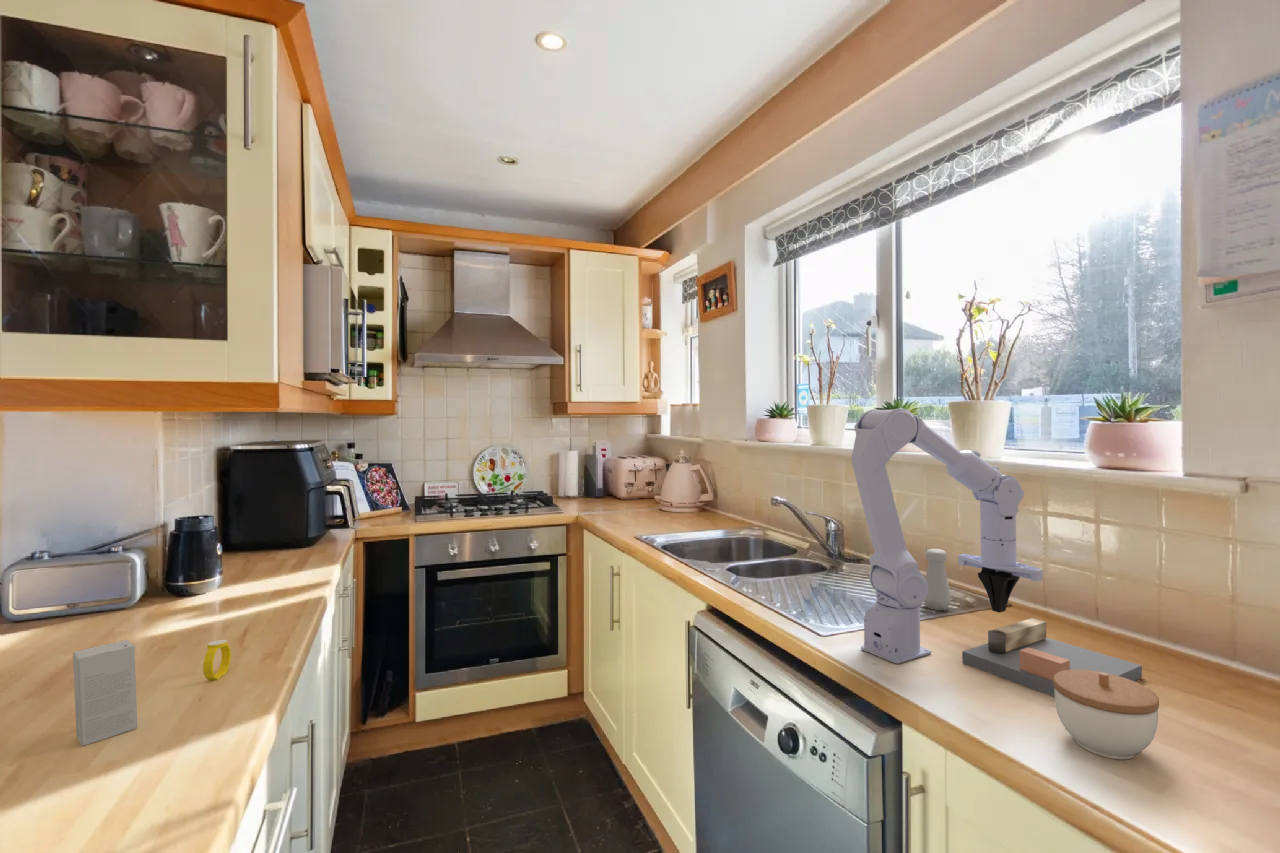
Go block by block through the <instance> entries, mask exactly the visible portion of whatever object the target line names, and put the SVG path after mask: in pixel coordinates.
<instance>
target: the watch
mask: <svg viewBox="0 0 1280 853" xmlns="http://www.w3.org/2000/svg"><path fill="white" fill-rule="evenodd" d="M206 645H207V651H206V653H205V654H204V655H205V656H204V659H203V665H202V671H203V675H204V677H205V679H206V680H208V681H217V680H218V679H220V678H221V677H222V676H224V675H225V674H227V673H228V670H229V667H230V664H231V658H232V652H231V647H230V644H229V643H228V640H227V639H218V640H214V641H210V642H208V643H207V644H206ZM218 649H219V650H220V651H221V654H220V655H221V660H220V666H219V668H218V671H216V672H214V662H215V661H214V660H215V658H216V657H215V656H216V654H217V651H218Z"/></svg>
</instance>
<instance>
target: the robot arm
mask: <svg viewBox="0 0 1280 853" xmlns="http://www.w3.org/2000/svg"><path fill="white" fill-rule="evenodd" d="M853 426H854V431H855V438H854V443H853V448H852V453H851V465H852V468H853V469H852V470H853V472H854V477H855V480H856V481H855V482H856V485H857V487H858V492H859V496H860V500H861V504H862V508H863V512H864V516H865V520H866V523H867V527H868V530H869V531H868V532H869V535H870V538H871V539H870V540H871V543H872V547H873V550H874V552H873V553H872V555H871V556H870V557H869V559H868V560H869V564H870V570H869V575H868V576H869V577H868V578H869V583H870V586H871V588H872V589H873V590H875V597H876V601H875V604H874V605H873V606H871V607H869V608H868V609H867V610H866V611H865V613H864V617H863V640H864V641H863V644H864V645H861V646H860V649H861V650H862V651H864V652H867V653H870V654H871V655H874V656H876V657H879V658H882V659H883V660H886V661H888V662H891V663H893V664H901V663H905V662H908V661H910V660H914V659H917V658H922V657H923V656H927V655H930V654H932V650H931V649H929V648H925V647H923V646H921V614H920V613H921V612H920V611H921V608H922V604H923V603H924V600H925V599H926V597H927V595H928V583H927V580H926V579H925V577H926V576H924V575H923V574H922V572H921V571H920V569H919V565H918V562H917V561H916V560H915V558H914V557H913V555H912V554H911V553H910V552H909V550H908V549H907V546H906V543H905V538H904V533H903V530H902V526H901V522H900V519H899V514H898V510H897V507H896V502H895V498H894V495H893V494H894V493H893V490H892V485H891V483H890V479H889V475H888V470H887V464H888V463H889V461H890V459H892V457H893V456H894V455H895V454H896V453H898V452H900V450H901V449H903V448H904V447H905V446H907V445H908V444H912V445H914V446H915V447H917V448H919V449H920V450H922V451H923V452H925V453H926V454H928V455H930V456H932V458H935V459H936V460H938V461H940V462H941V463H942V464H944V465H945V466H946V472H947V474H948V475H949V476H950V477H951V478H953V479H954V480H956V481H958V483H960V484H962V485H963V486H964V487H966V488H968V490H970V491H972V495H973V497H974V499H975V500H977V501H979V507H980V509H979V512H980V513H979V515H980V516H979V517H980V518H979V522H980V523H979V524H980V526H979V528H980V555H975V554H968V553H962V554H958V565H959V566H968V567H973V568H977V569H981V571H980V572H978V573H977V577H978V579H979V580H980V582H981V583H982V585H983V588H984V589H985V592H986V594H987V596H988V600H989V603H990V607H991V609H992V611H993V612H996V613H1003V612H1006V610H1007V606H1008V602H1009V599H1010V596H1011V595H1012V594H1011V593H1012V591H1013V590H1014V588H1015V586H1016V584H1017V583H1018V582H1019V581H1020V578H1023V579H1029V580H1030V581H1033V582H1040V581H1043V579H1044V569H1043V568H1039V567H1034V566H1030V565H1028V564H1024V563H1021V562H1018V561H1017V515H1018V513H1019V505H1020V503H1021V502H1022V500H1023V498H1024V495H1025V490H1024V489H1022V485H1021V484H1020V482H1019V481H1018V479H1017V478H1016V477H1014V476H1012V475H1009V474H1007V475H1006V474H1002V473H1001V471H1000V468H999V467H998V466H996V465H991V464H990V463H988V462H987V461H986V460H984V459H982V458H981V456H982V455H981V453H980V452H979V451H977V450H969V449H963V450H958V449H957V448H956V447H955V446H954V445H952V444H951V443H950V442H948V441H947V440H946V439H944V438H943V437H942V436H941V435H940V434H938V433H937V432H936V431H935V430H934V429H932V428H931V427H930V426H928V424H926V423H925V422H924V420H923V419H922V418H921V417H920V416H917V415H914V414H913V413H912V412H911V411H910V410H908V409H906V408H894V409H876V408H875V409H874V408H873V409H869V410H867V411H865V412H864V413H863V414H862V415H861V416H860V417H859V419H858V421H856V423H855V425H853Z"/></svg>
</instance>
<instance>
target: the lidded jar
mask: <svg viewBox="0 0 1280 853" xmlns="http://www.w3.org/2000/svg"><path fill="white" fill-rule="evenodd" d="M1053 685H1054V696H1055V697H1054V703H1055V709H1056V712H1057V716H1058V718H1059V720H1060V722H1061V724H1062V726H1063V727H1064V729H1065V730H1066V732H1067V733H1068V734H1069V735H1071V737H1072V738H1073V739H1074V742H1076V744H1077V745H1078V746H1079V747H1081V748H1082V749H1084V750H1085V751H1087V752H1089V753H1092V754H1094V755H1097V756H1101V757H1104V758H1107V759H1113V760H1122V761H1123V760H1130V759H1134V758H1135V755H1137V754H1138V753H1141V752H1143V751H1144V750H1146V749H1147V748H1148V747H1149V746H1150V745H1151V744H1152V743H1153V740H1154V738H1155V735H1156V732H1157V727H1158V722H1159V720H1158V718H1159V708H1160V698H1159V696H1158V695H1157V694H1156V693H1155V692H1154V690H1152V689H1151V688H1149V687H1147V686H1145V685H1143V684H1141V683H1139V682H1137V681H1132V680H1129V679H1126V678H1123V677H1120V676H1116V675H1112V674H1108V673H1104V672H1098V671H1091V670H1064V671H1060V672H1058V673H1056V674H1055V675H1054V676H1053Z"/></svg>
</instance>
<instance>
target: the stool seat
mask: <svg viewBox="0 0 1280 853" xmlns="http://www.w3.org/2000/svg"><path fill="white" fill-rule="evenodd" d="M961 653H962V654H961V655H962V664H964V665H966V666H967V665H968V666H970V667H973V668H976V669H978V670H980V671H983V672H987V673H989V674H992V675H995V676H997V677H1000V678H1003V679H1006V680H1008V681H1010V682H1013V683H1016V684H1019V685H1022V686H1025V687H1027V688H1030V689H1032V690H1035V691H1038V692H1040V693H1043V694H1045V695H1048V696H1051V697H1054V698H1055V696H1054V685H1053V676H1054V675H1055V674H1056V673H1058V672H1060V671H1064V670H1091V671H1098V672H1104V673H1108V674H1112V675H1116V676H1120V677H1123V678H1126V679H1129V680H1132V681H1135V682H1137V681H1138V680H1140V679H1142V678H1143V665H1142V664H1137V663H1136V662H1132V661H1128V660H1124V659H1121V658H1117V657H1114V656H1110V655H1108V654H1104V653H1100V652H1097V651H1094V650H1091V649H1086V648H1083V647H1081V646H1078V645H1074V644H1070V643H1067V642H1063V641H1060V640H1056V639H1053V638H1049V637H1047V636H1046V639H1043V640H1040V641H1037V642H1034V643H1031V644H1028V645H1025V646H1022V647H1019V648H1016V649H1013V650H1010V651H1007V652H1005V653H995V652H992V651H990V650H989V649H988V642H987V643H983V644H981V645H978V646H974V647H971V648H969V649H966V650H965V649H964V650H962V652H961Z"/></svg>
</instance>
